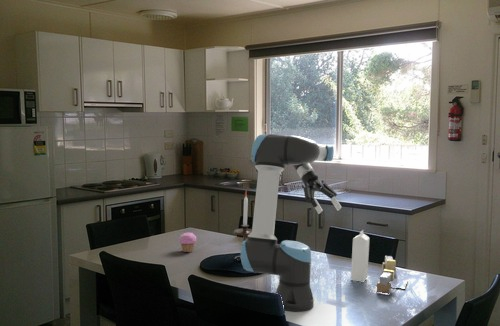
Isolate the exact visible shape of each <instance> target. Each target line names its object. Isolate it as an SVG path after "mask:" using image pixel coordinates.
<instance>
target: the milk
mask: <svg viewBox="0 0 500 326" xmlns="http://www.w3.org/2000/svg"><path fill="white" fill-rule="evenodd" d="M351 252H352V253H351V266H350V267H351V269H350V270H351V271H350V280H351V279H352V280H358V281H365V280H366V278H367V279H368V271H369V270H368V269H369V255H370V253H369V252H370V237H369V236H368V235H367V234H365V233H364V229H362V230H361V231H360V232H359V234H358V235H355V237H353V238H352V251H351ZM366 281H367V280H366ZM366 281H365V282H366Z"/></svg>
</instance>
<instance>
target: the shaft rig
mask: <svg viewBox="0 0 500 326" xmlns="http://www.w3.org/2000/svg"><path fill="white" fill-rule="evenodd" d="M396 265H397V261H396V259H394V258H393V256H392V255H385V256H384V261H383V262H382V267H381V268H382V269H381V271H382V270H383V273H381V275H380V276H379V277H380V281H379V282H378V283H377V282H376V283H377V286H376V293H377V292H382V293H388V294H389V293H390V292H391V291H392V288H391V283H389V282H390V281H393V280H394V278H395V271H396V267H397V266H396ZM391 293H392V292H391Z"/></svg>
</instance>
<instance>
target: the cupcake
mask: <svg viewBox="0 0 500 326" xmlns="http://www.w3.org/2000/svg"><path fill="white" fill-rule="evenodd" d="M178 242H179V243H180V245H181V250H182V251H183V253H186V252H187V253H191V252H193V250H194V247H195V245H194V244H195V243H196V242H197V236H196V235H195V234H194V233H193V232H184V233H182V234H180V236H179V237H178Z"/></svg>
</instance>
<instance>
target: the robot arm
mask: <svg viewBox="0 0 500 326" xmlns="http://www.w3.org/2000/svg"><path fill="white" fill-rule="evenodd" d="M334 148H335V147H334V146H333V145H330V144H320V143H317V142H316V141H315V140H312V139H309V138H306V137H303V136H298V135H287V134H286V135H285V134H271V133H267V134H259V135H258V136H256V137H255V139H254V141H253V143H252V147H251V153H250V155H251V157H250V159H251V162H252V163H254V167H255V169H256V170H257V180H256V181H257V182H256V190H255V200H254V209H253V216H252V217H253V218H252V227H251V229H252V232H251V233H250V234H249V235H248V236H246V240H245V241H243V240H242V243H241V246H240V255H241V262H240V263H241V265H242V268H243V269H244V270H246V271H247V272H251V273H254V274H256V273H259V274H264V275H265V274H267V275H274V276H278V285H277V288H276V290H275V293H278V294H280V295H281V297H282V301H283V305H284V309H283V310H285V311H289V312H304V311H308V310H311V309H313V307H314V304H315V303H314V302H315V299H314V295H313V291H312V288H311V285H310V284H311V267H312V265H311V264H312V250H311V248H310V246H309V245H307V244H305V243H303V242H301V241H295V240H288V239H285V240H282V241H281V242H280V243H278V238H277V237H276V236H275V225H276V215H277V205H278V198H279V197H278V196H279V187H280V176H281V173H282V172H283V171H285V166H293V168H294V170H295V171H296V173H297V175H298V176H299V179H301V181H302V185H301V187H302V189H303V193H304V198H305V201H306V202H307V203H308V204H311V205H312V206H313V208H314V209H315V210H316V212H317V214H318V215H319V214H321V213H322V212H323V210H324V209H323V208H322V207H321V205H320V203H319V201H318V200H317V198H315V192H319V193H322V194H323V195H325V196H326V197H328V198H329V199H330V202H331V203H332V205H333V206H334V207H335V209H336V211H340V210H341V209H342V208H343V207H342V205H341V204H340V202H339V200H338V199H337V196H338V193H337V192H336V191H335V190H333V189H332V188H331V187H330V186H329V185H328V184H327V183H326V182H325V181H324V180H323V179H322V180H321V181H319V175H318V174H317V172H316V171H315V169H314V167H312V165H311V164H312V163H314V162H316V161H320V162H332V161H333V159H334V154H335V153H334V152H335V151H334Z"/></svg>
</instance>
